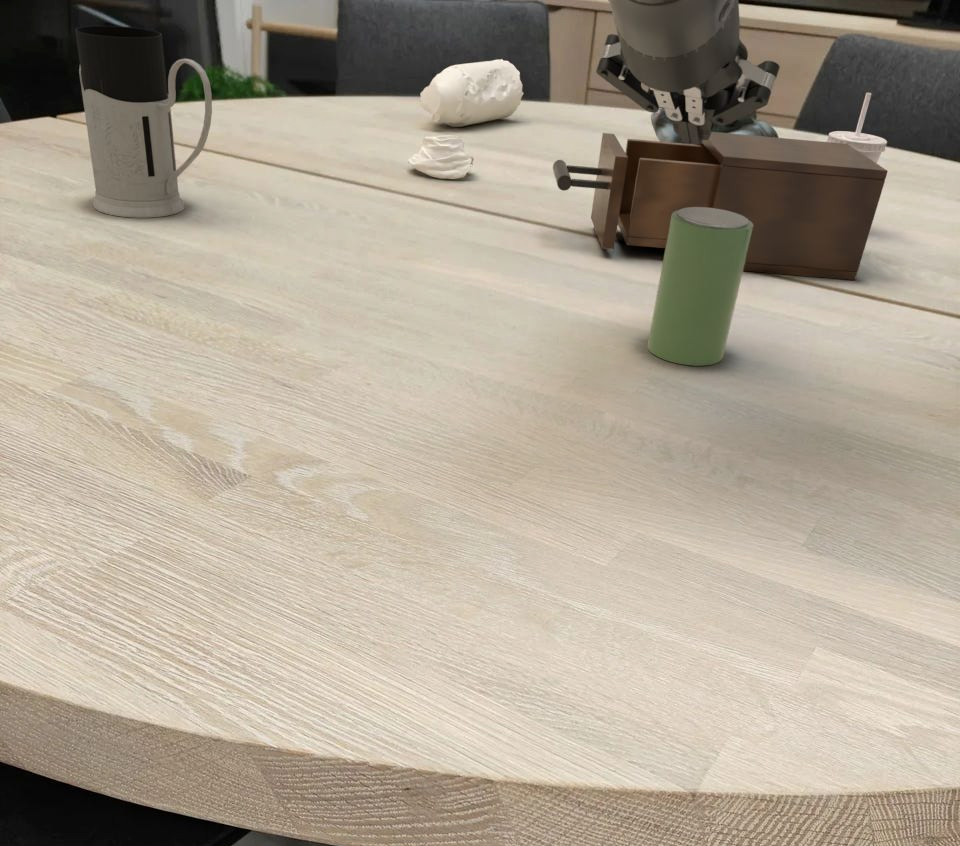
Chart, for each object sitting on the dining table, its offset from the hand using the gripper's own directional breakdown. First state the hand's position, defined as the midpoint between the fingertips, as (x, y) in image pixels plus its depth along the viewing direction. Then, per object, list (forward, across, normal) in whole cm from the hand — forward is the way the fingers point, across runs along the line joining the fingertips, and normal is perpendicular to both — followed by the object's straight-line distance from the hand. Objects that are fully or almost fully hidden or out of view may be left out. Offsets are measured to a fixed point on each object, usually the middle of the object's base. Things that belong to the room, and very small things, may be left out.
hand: (695, 131), depth 77 cm
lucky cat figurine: (+56, +9, -19) cm, 59 cm away
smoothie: (+44, -9, -12) cm, 46 cm away
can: (+2, -4, +16) cm, 16 cm away
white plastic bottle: (+64, +48, -24) cm, 84 cm away
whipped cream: (+37, +37, -6) cm, 53 cm away
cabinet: (+29, -4, -2) cm, 30 cm away
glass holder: (+7, +51, +14) cm, 53 cm away
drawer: (+24, +8, 0) cm, 26 cm away
